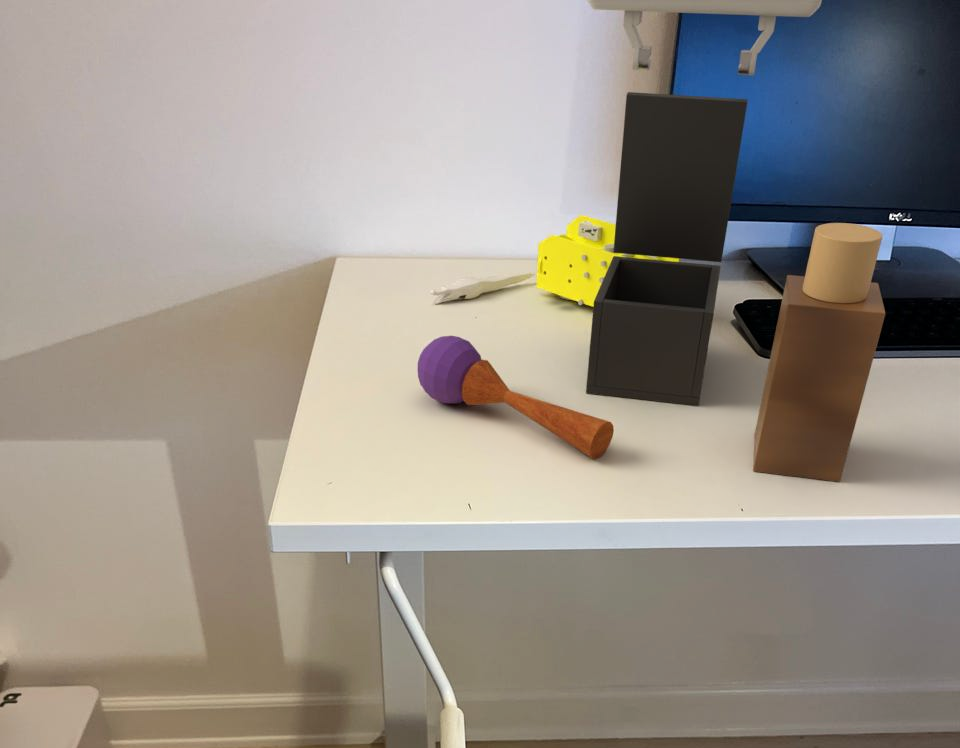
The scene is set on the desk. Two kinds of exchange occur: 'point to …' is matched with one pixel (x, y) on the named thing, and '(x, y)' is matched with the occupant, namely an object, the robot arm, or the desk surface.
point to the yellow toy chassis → (579, 259)
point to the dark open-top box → (652, 330)
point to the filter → (841, 262)
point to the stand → (815, 382)
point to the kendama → (502, 394)
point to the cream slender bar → (476, 286)
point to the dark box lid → (677, 175)
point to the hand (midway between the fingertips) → (692, 72)
